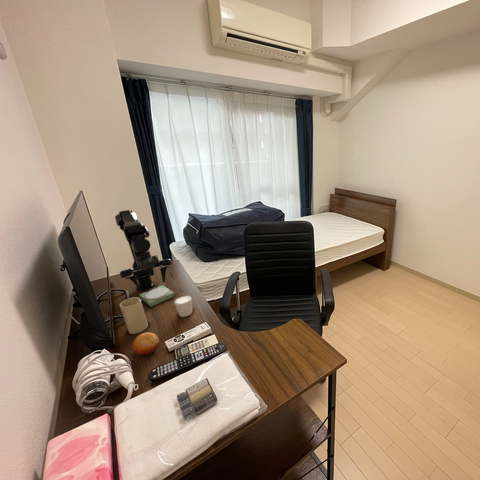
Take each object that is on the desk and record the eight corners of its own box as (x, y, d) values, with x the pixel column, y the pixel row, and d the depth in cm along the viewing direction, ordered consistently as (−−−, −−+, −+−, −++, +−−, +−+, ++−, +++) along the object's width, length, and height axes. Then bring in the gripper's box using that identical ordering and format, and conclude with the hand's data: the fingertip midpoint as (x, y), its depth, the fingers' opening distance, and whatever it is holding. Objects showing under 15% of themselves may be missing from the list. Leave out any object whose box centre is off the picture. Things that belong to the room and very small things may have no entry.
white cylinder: (197, 308, 118) (194, 296, 115) (188, 318, 112) (185, 304, 109) (183, 307, 119) (180, 295, 116) (174, 317, 112) (170, 304, 110)
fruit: (139, 339, 97) (145, 325, 95) (158, 348, 99) (165, 334, 96) (123, 356, 90) (129, 341, 87) (144, 365, 91) (151, 350, 88)
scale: (140, 298, 126) (139, 293, 125) (163, 288, 134) (162, 284, 133) (150, 306, 119) (149, 301, 118) (174, 296, 128) (173, 291, 127)
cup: (126, 329, 105) (116, 303, 100) (144, 320, 110) (136, 295, 105) (132, 336, 101) (123, 309, 96) (150, 327, 106) (143, 301, 102)
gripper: (115, 258, 98) (128, 296, 100) (168, 246, 110) (179, 280, 111) (115, 258, 106) (126, 293, 108) (164, 247, 118) (174, 278, 120)
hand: (152, 286), depth 112 cm, fingers open, 9 cm apart
